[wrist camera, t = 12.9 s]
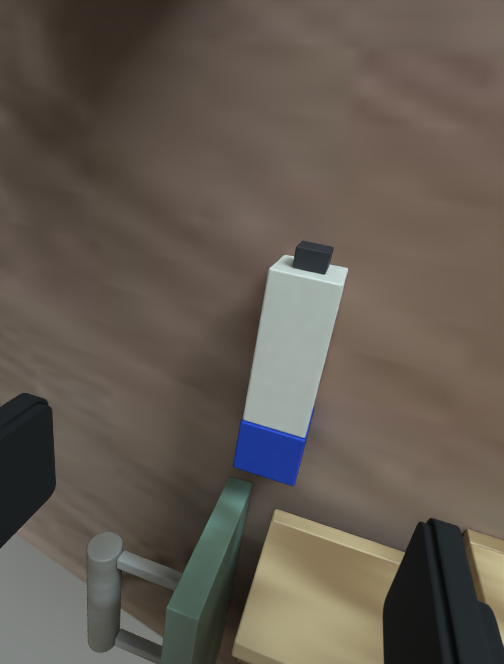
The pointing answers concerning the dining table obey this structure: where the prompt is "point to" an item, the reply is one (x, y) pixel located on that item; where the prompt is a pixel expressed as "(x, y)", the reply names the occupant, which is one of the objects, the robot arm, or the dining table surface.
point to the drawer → (253, 593)
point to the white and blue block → (288, 361)
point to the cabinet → (487, 571)
